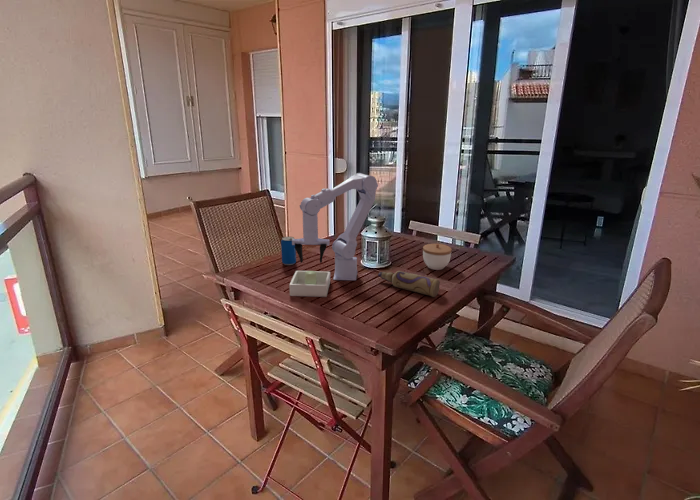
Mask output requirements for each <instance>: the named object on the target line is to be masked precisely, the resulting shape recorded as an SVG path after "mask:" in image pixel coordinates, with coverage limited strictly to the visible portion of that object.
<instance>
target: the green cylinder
mask: <svg viewBox="0 0 700 500" xmlns="http://www.w3.org/2000/svg"><path fill="white" fill-rule="evenodd" d="M306 271H307V272H305V284H313V285H316V272H315V270H306Z"/></svg>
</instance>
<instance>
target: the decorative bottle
mask: <svg viewBox="0 0 700 500" xmlns="http://www.w3.org/2000/svg"><path fill="white" fill-rule="evenodd" d="M377 276H378V277H379V278H381V279H382V280H386V281H387V282H389V283H392V286H393V287H395V288H400V289H403V290H405V291H406V290H407V291H411V292H414V293H418V294H422V295H426V296H429V297H432V298H436V296H437V295H438V294H439V291H440V285H441V283H440V282H441V281H440V280H439V279H438V278H432V277H428V276H424V275H419V274H416V273H412V272H411V273H410V272H408V271H402V270H397V271H396V272H395V273H394V272H385V271H383V272H382V271H379V273H378V275H377Z"/></svg>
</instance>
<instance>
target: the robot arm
mask: <svg viewBox="0 0 700 500" xmlns="http://www.w3.org/2000/svg"><path fill="white" fill-rule="evenodd" d="M378 188H379V184H378V181H377V178H376V177H375V176H374V175H370V174H366V173H365V174H364V173H362V172H357V173H355V174H354V175H353V174H352V175H351V176H349V178H348V179H345V180H344V181H343V182H341V183H339V184H337V185H335V187H333V188H331V189H330V188H325V187H324V188H322V189H321V191H319V192H317V193H315V194H311V195H310V197H305V198H303V199H302V200H301V202H300V205H299V208H300V211H302V235H303V238H302V237H301V238H294V239H292V245H295V250H296V254H297V256H298V257H299V261H300V263H301V264H302V263H304V262H303V261H304V257H303V256H304V255H303V246H306V245H307V246H309V245H310V246H319V263H320V264H322V262H323V256H324V253H325V251H326V249H327V247H328V246H330V239H328V238H319V224H318V223H319V222H318V221H319V219H318V214H319V212H320V210H321V209H323V208H325V207H326V206H328V205H331V204H332V203H334V202H335V199H336V197H339V196H341V195H343V194H345V193H348V192H349V191H351V190H356V191H357V192H358V194H359V197H360V199H359V202H358V204H357V205H356V208H355V209H354V212H353V214H352V216H351V218H350V219H349V222H348V224H347V226H346V227H345V230H344V231H343V233H341V234H339V235H338V237H337V238H336V239H335V240H334V241H333V243H332V244H331V245H332V246H331V247H332V248H331V250H332V251H333V252H334V275H333V278H332V280H334V281H335V280H336V281H357V275H358V257H357V256H355V255H356V248H357V246H358V241H357V237H358V235H359V233H360V231H361V228H362V227H363V225H364V223H365V220H366V219H367V217H368V215H369V212H370V211H371V209H372V207H373V204H374V202H375V201H376V191H377V189H378Z"/></svg>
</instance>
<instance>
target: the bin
mask: <svg viewBox="0 0 700 500" xmlns="http://www.w3.org/2000/svg"><path fill="white" fill-rule="evenodd" d="M307 271H308V270H295V271H294V274H293V276H292V277H291V280H290V283H289V296H290V297H313V298H314V297H316V298H317V297H320V298H327V296H328V293H329V288H330V285H331V271H322V270H321V271H320V270H319V271H315V270H314V271H315V272H316V285H313V284H305V272H307Z"/></svg>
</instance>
